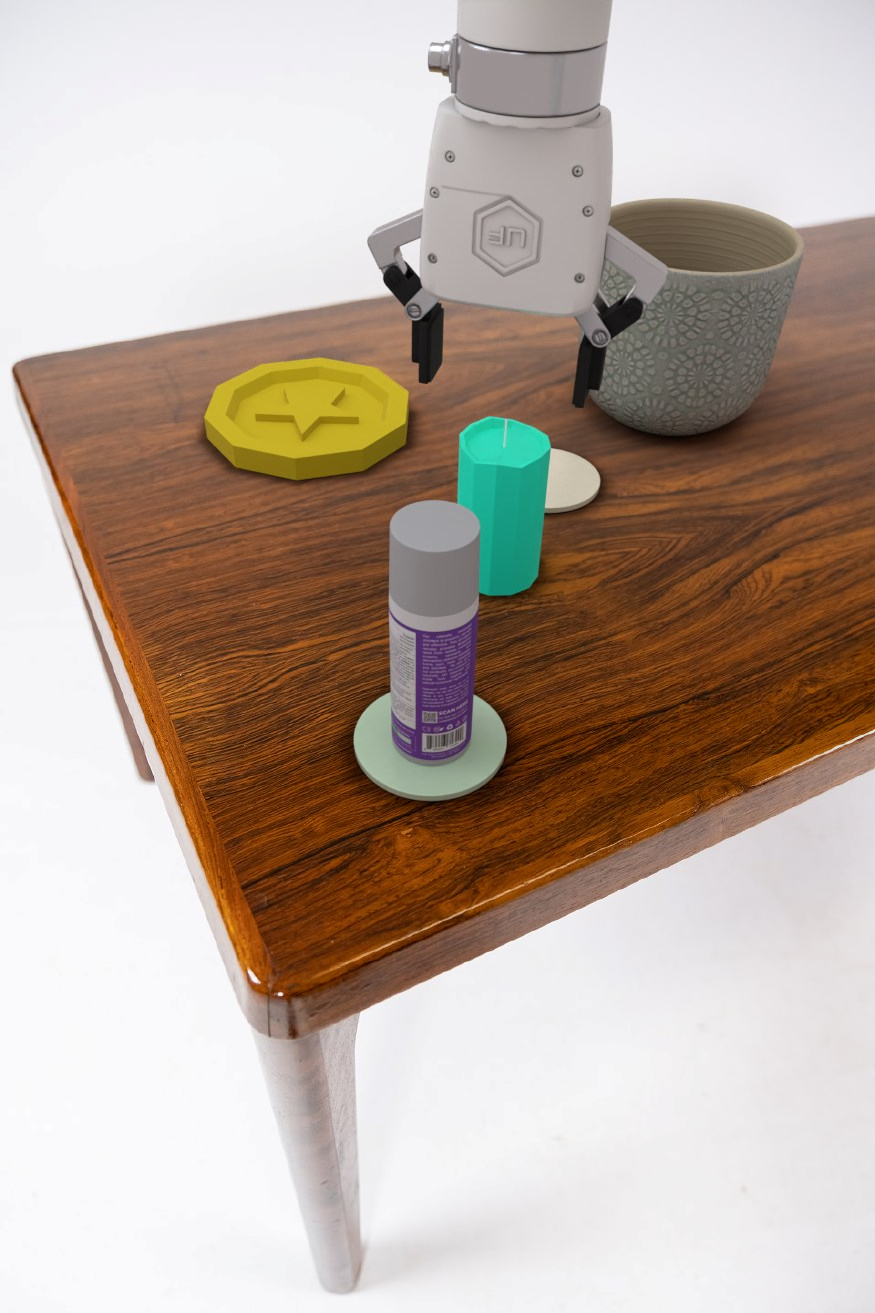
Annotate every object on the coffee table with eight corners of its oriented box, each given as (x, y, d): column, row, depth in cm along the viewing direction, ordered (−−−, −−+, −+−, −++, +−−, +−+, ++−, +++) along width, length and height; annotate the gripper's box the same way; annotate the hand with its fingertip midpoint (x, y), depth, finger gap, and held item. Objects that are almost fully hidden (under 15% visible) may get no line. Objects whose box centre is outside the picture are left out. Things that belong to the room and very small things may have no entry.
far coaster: (607, 461, 84) (608, 456, 83) (590, 521, 77) (590, 516, 77) (500, 445, 85) (501, 440, 85) (475, 502, 79) (475, 497, 78)
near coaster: (520, 705, 62) (521, 700, 62) (486, 816, 56) (487, 810, 55) (380, 677, 64) (380, 671, 64) (332, 782, 57) (331, 776, 57)
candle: (443, 553, 74) (447, 403, 66) (520, 539, 75) (533, 391, 67) (470, 602, 70) (477, 449, 62) (551, 587, 71) (568, 435, 63)
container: (479, 717, 61) (492, 507, 51) (459, 774, 57) (469, 560, 47) (404, 701, 62) (403, 491, 52) (381, 756, 58) (374, 543, 48)
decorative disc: (435, 460, 83) (435, 439, 82) (219, 491, 79) (216, 468, 78) (385, 370, 95) (385, 349, 94) (196, 392, 91) (193, 371, 90)
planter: (779, 390, 93) (825, 218, 83) (731, 477, 82) (776, 290, 72) (606, 350, 99) (629, 185, 89) (539, 426, 88) (555, 247, 77)
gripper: (343, 78, 50) (353, 392, 62) (694, 114, 47) (636, 437, 59) (388, 45, 56) (390, 340, 67) (706, 76, 53) (650, 379, 64)
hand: (504, 385), depth 63 cm, fingers open, 9 cm apart
